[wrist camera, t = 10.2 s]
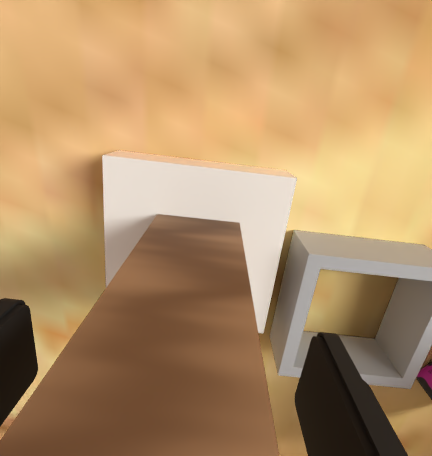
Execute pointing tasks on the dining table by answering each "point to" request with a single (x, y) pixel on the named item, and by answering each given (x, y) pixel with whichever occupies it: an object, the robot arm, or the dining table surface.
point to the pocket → (393, 318)
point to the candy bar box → (426, 379)
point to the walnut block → (160, 358)
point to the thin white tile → (198, 208)
